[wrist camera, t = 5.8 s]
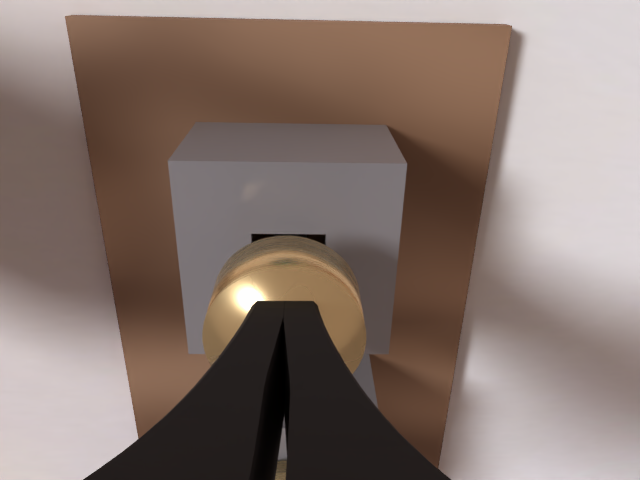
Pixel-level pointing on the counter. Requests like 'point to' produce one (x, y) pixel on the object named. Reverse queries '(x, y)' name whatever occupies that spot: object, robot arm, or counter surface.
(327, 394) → the robot arm
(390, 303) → the twin gray blocks
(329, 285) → the brass round knob
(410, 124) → the walnut board
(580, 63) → the counter surface
